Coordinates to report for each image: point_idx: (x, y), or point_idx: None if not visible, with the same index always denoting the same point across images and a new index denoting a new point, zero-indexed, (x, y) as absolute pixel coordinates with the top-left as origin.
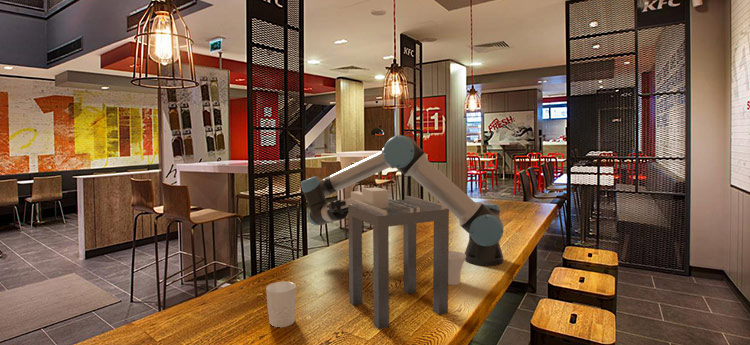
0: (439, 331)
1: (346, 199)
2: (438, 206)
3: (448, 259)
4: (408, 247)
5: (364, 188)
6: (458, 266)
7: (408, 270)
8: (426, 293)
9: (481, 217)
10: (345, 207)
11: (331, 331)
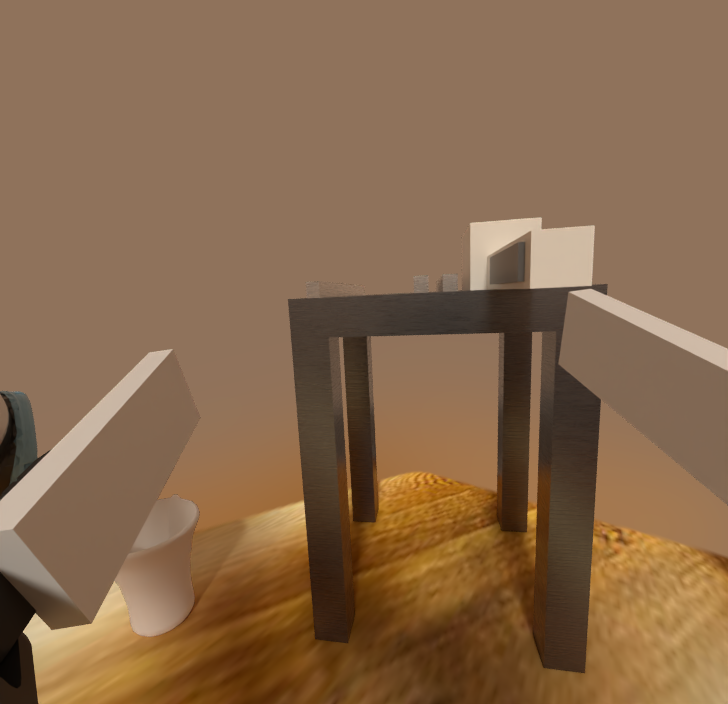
0: (418, 482)
1: (653, 325)
2: (362, 289)
3: (198, 514)
4: (345, 464)
5: (532, 219)
6: (176, 531)
7: (349, 540)
8: (306, 590)
9: (27, 399)
10: (667, 442)
11: (636, 549)
